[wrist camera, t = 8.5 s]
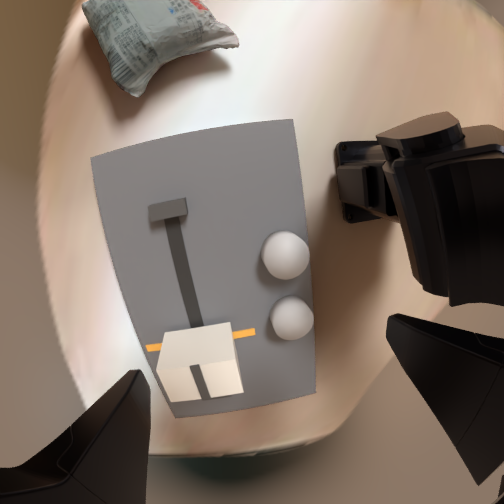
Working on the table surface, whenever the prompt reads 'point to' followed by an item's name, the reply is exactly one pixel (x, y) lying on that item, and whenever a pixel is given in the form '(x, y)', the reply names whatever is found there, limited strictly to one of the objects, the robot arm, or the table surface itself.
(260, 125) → the console
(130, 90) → the packaged food
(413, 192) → the robot arm
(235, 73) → the table surface
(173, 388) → the block
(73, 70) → the table surface
